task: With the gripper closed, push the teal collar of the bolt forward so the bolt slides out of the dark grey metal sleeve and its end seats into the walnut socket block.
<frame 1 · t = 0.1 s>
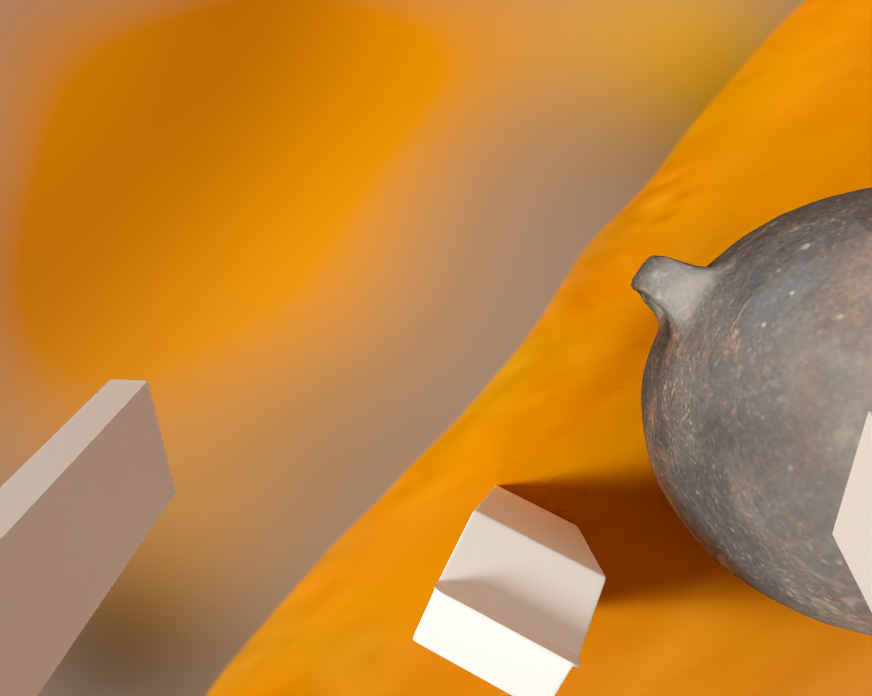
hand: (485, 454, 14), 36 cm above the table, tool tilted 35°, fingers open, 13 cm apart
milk: (517, 545, 48), on the table
jug: (796, 417, 47), on the table
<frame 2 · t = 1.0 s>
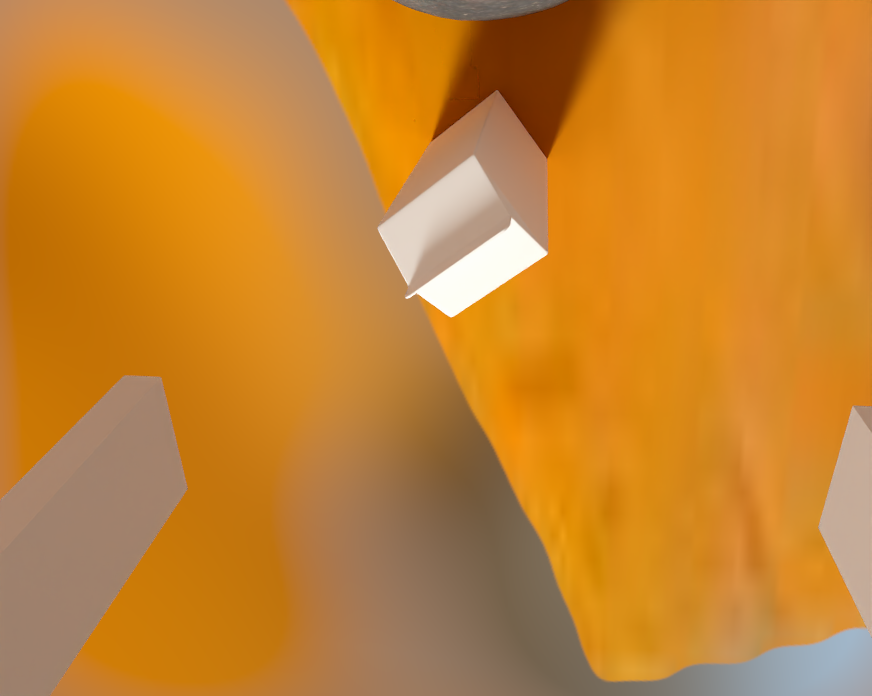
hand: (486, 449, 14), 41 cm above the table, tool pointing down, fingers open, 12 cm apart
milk: (488, 150, 52), on the table
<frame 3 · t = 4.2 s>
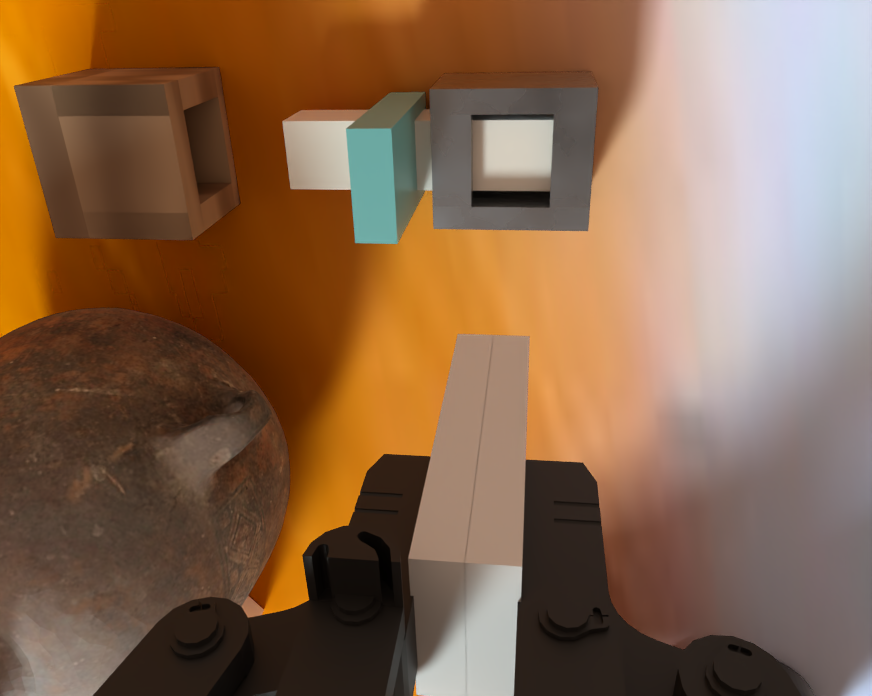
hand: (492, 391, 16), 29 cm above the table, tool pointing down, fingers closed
jug: (180, 401, 54), on the table
bolt: (432, 160, 37), point 6 cm above the table, slide at 0.0 cm
socket: (167, 138, 44), on the table
sleeve: (515, 137, 42), on the table
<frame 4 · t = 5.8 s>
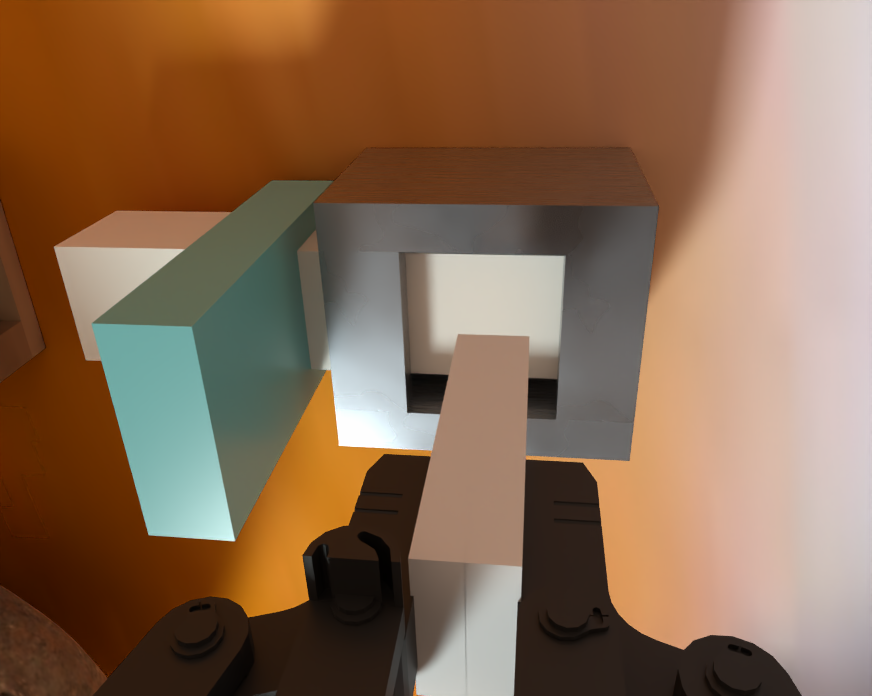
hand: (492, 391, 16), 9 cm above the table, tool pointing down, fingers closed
jug: (0, 612, 36), on the table
bolt: (329, 330, 19), point 6 cm above the table, slide at 0.0 cm
sleeve: (494, 256, 24), on the table
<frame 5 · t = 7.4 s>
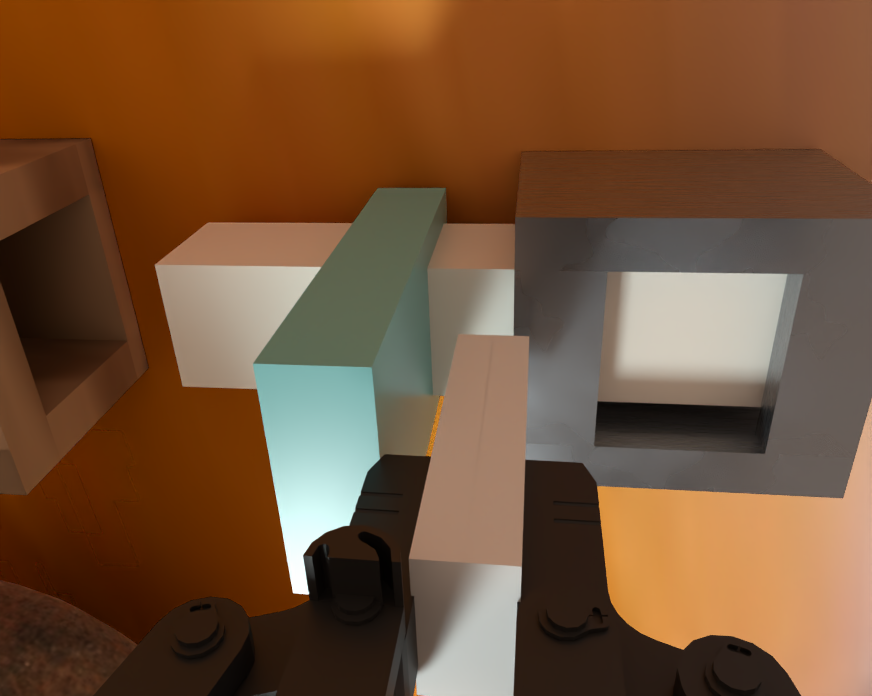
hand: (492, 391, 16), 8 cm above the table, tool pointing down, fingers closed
jug: (80, 641, 34), on the table
bolt: (465, 355, 17), point 6 cm above the table, slide at 1.1 cm, touching gripper
socket: (10, 260, 25), on the table
sleeve: (654, 268, 22), on the table
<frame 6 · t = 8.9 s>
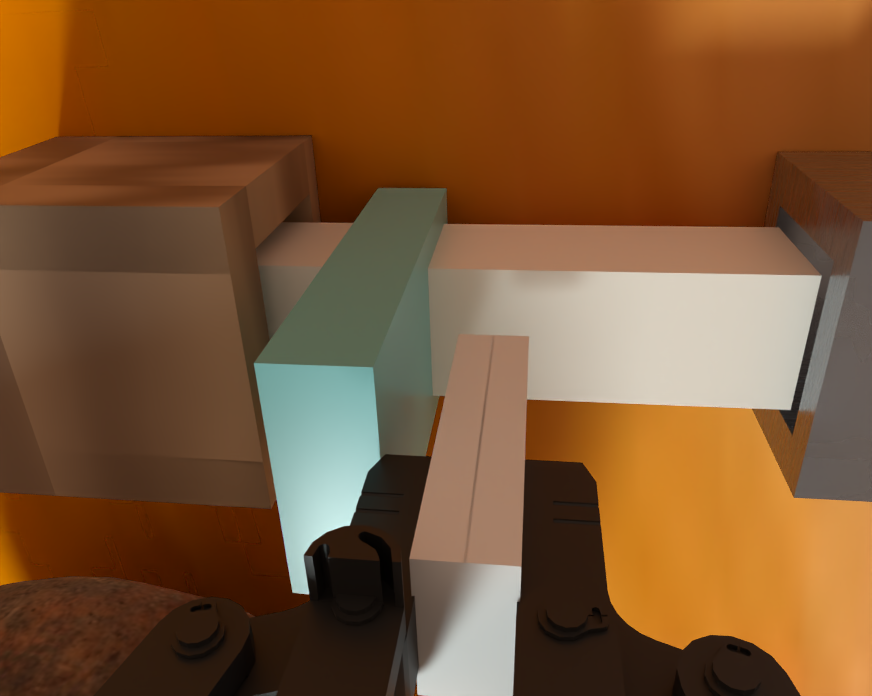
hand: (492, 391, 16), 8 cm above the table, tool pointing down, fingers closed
jug: (218, 653, 33), on the table
bolt: (466, 356, 17), point 6 cm above the table, slide at 8.0 cm, touching gripper
socket: (205, 262, 24), on the table
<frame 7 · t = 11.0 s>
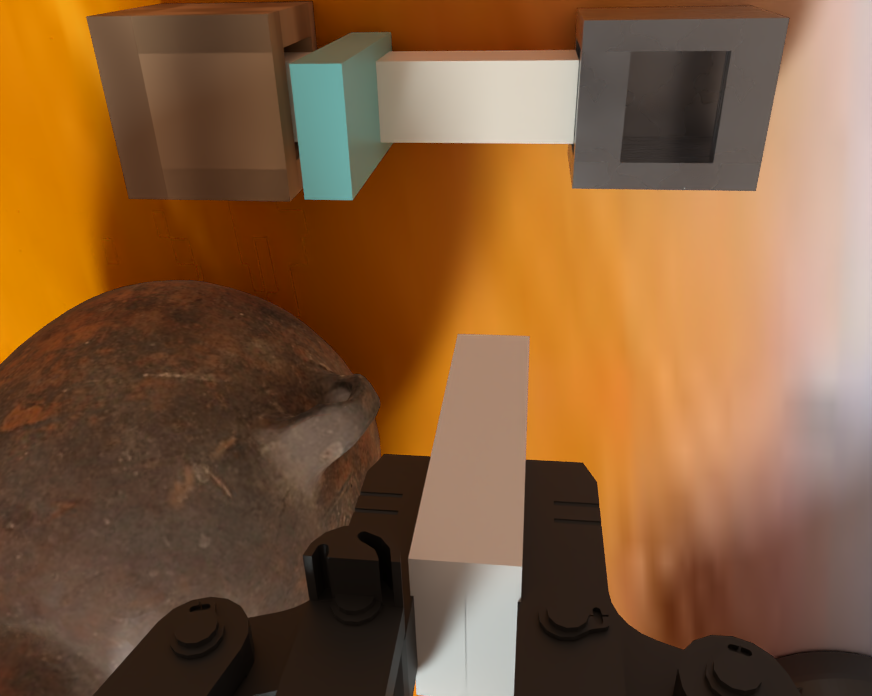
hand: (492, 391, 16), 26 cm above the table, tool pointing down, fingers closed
jug: (247, 384, 48), on the table
bolt: (395, 107, 33), point 6 cm above the table, slide at 8.0 cm
socket: (247, 85, 39), on the table
sleeve: (653, 84, 36), on the table
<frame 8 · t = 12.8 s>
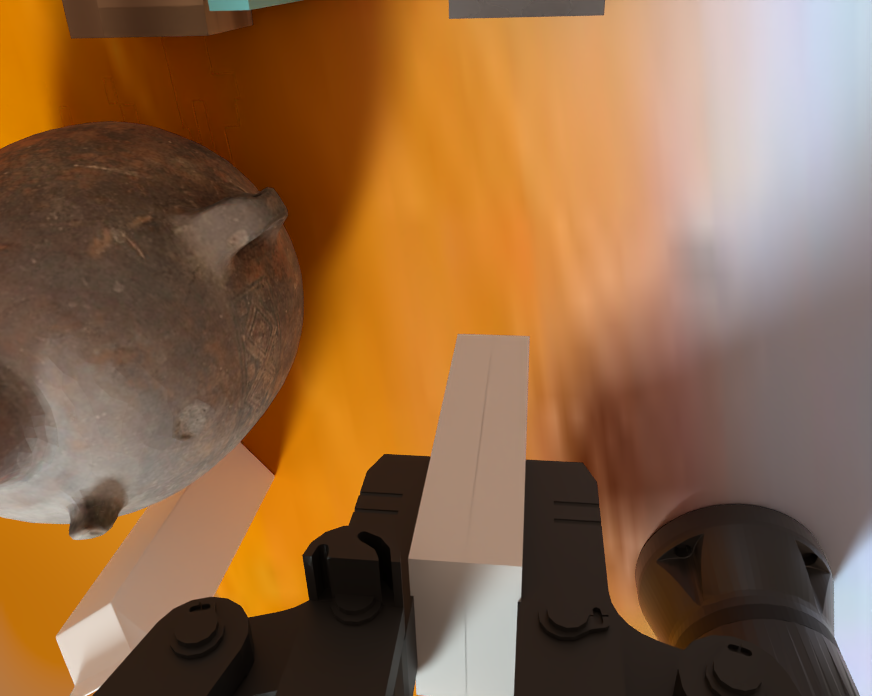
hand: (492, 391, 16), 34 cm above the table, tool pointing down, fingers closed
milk: (229, 466, 63), on the table
jug: (192, 248, 54), on the table
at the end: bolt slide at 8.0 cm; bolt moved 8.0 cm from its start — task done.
